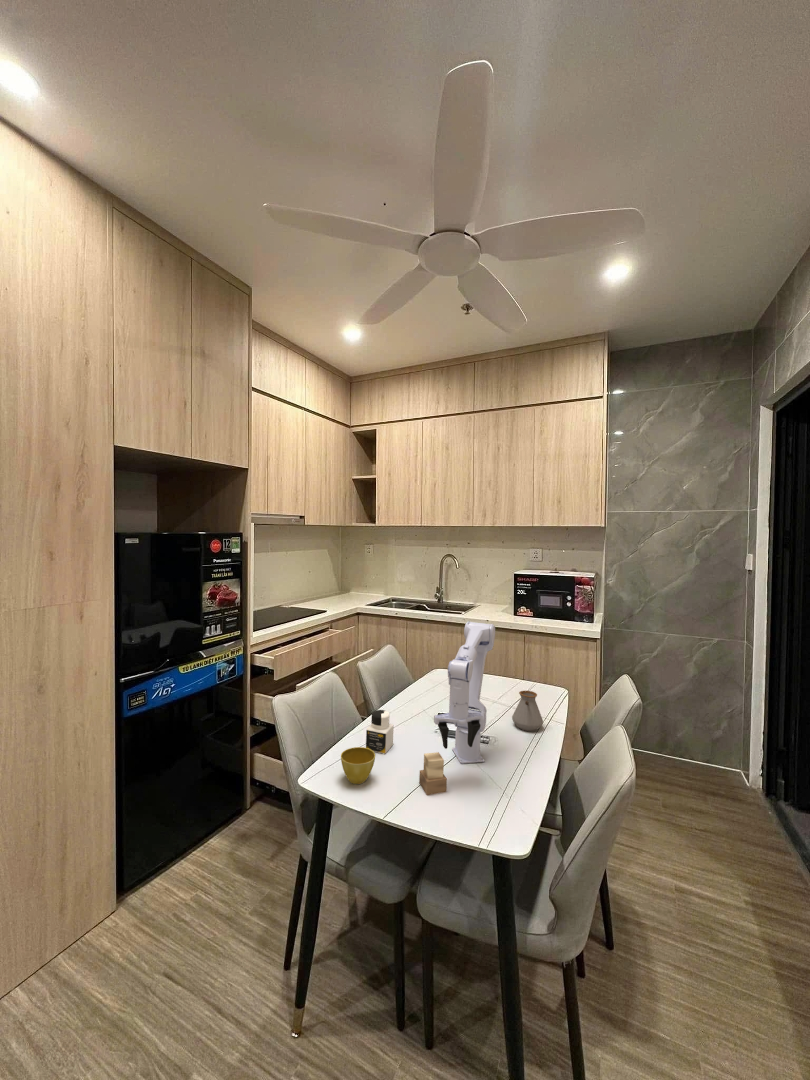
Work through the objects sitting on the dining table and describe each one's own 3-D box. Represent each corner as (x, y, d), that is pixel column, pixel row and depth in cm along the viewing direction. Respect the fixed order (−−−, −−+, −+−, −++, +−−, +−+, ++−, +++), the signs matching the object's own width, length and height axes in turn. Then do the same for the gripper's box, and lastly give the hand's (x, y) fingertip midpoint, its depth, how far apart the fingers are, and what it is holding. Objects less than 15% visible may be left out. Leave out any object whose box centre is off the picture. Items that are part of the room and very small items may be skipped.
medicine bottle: (365, 750, 146) (366, 714, 146) (374, 740, 152) (375, 706, 152) (385, 754, 143) (386, 718, 143) (393, 744, 150) (394, 710, 150)
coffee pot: (513, 718, 175) (514, 681, 175) (543, 723, 171) (544, 685, 171) (507, 742, 155) (509, 699, 155) (541, 748, 151) (543, 705, 151)
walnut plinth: (419, 783, 128) (419, 770, 127) (438, 780, 129) (438, 767, 129) (426, 795, 122) (427, 781, 122) (446, 792, 124) (446, 778, 124)
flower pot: (357, 766, 136) (358, 743, 135) (381, 778, 129) (382, 754, 129) (332, 779, 128) (333, 755, 128) (357, 793, 121) (358, 768, 121)
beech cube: (423, 770, 127) (424, 753, 127) (438, 769, 128) (438, 752, 128) (428, 779, 123) (428, 761, 123) (443, 777, 124) (443, 759, 124)
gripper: (439, 707, 124) (437, 754, 125) (487, 704, 127) (485, 751, 127) (432, 697, 131) (431, 742, 132) (478, 695, 134) (477, 739, 134)
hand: (457, 746), depth 130 cm, fingers open, 7 cm apart
